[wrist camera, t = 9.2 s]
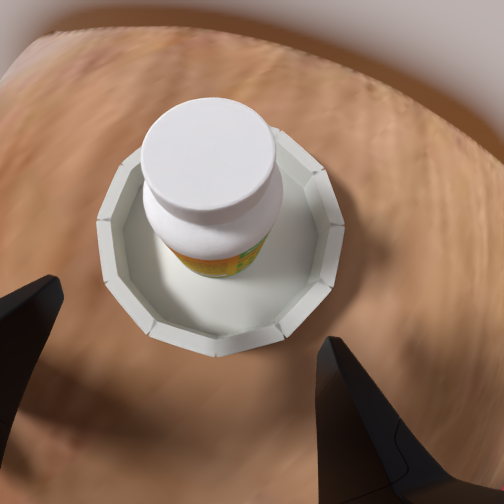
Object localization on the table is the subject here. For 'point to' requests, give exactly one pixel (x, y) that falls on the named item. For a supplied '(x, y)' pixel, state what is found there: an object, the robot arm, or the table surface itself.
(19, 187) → the table surface
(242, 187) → the supplement bottle
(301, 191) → the dish
